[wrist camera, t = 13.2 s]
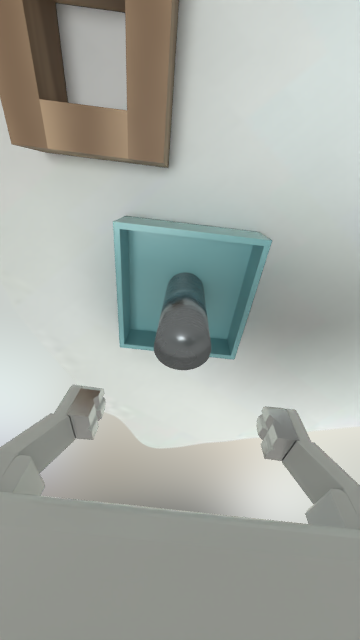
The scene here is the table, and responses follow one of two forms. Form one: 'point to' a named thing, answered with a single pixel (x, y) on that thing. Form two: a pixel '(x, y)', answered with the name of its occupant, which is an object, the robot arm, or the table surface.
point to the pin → (183, 324)
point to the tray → (191, 257)
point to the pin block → (82, 120)
